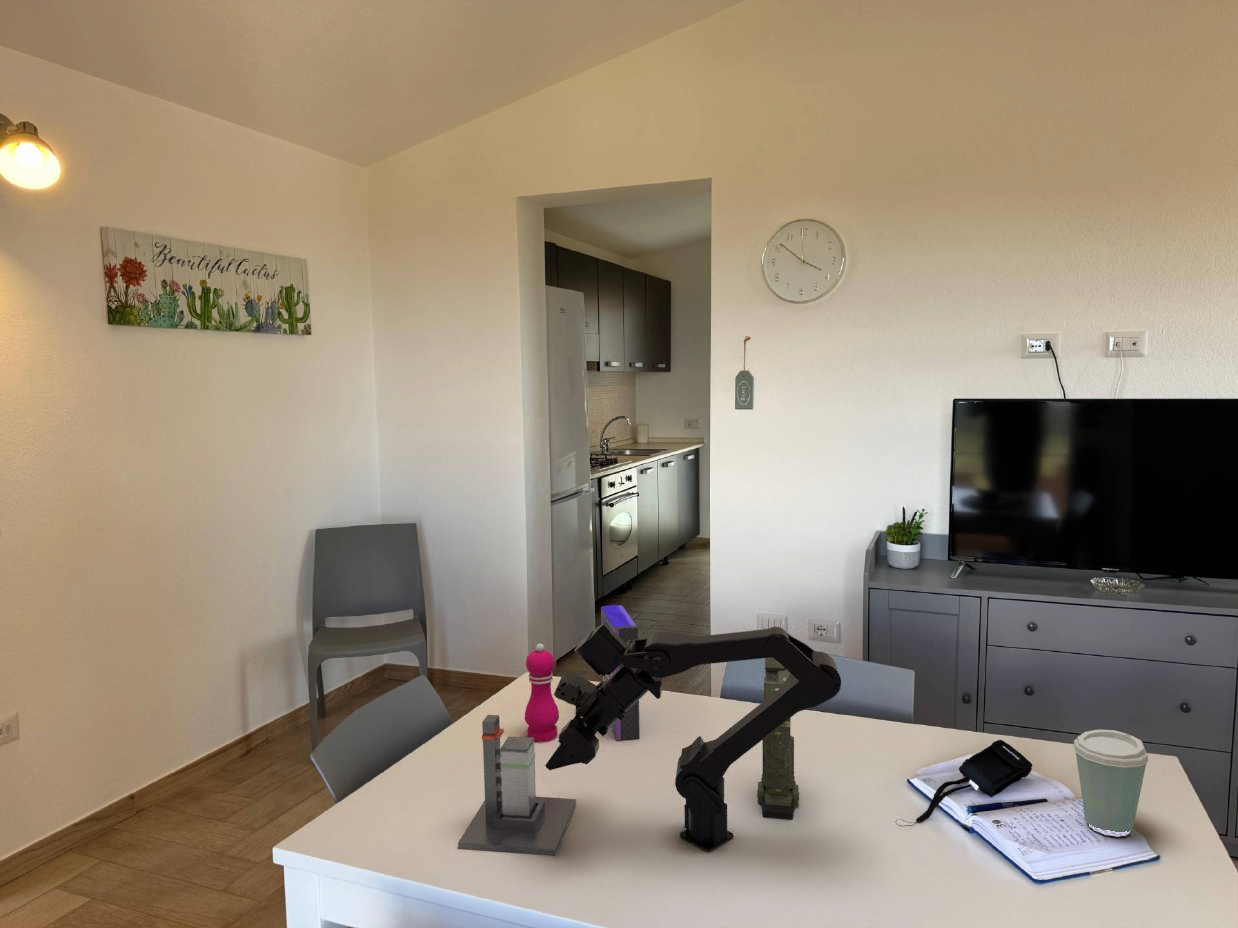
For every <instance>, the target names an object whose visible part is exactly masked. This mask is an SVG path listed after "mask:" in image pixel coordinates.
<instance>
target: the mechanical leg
mask: <svg viewBox="0 0 1238 928" xmlns="http://www.w3.org/2000/svg"><path fill="white" fill-rule="evenodd" d="M764 672H765V677H764V678H763V701H765V700H766V699H767V698H768V697H770V696H771V695H772V694H773V693H775V692H776V691H777V690H779V689H780V688H781V687H782V686H783V684H784V683H785V681H786V679H787V678H788V676H789V675H790V672H789V671H788V670H787V669H786V668H785V667H784V666H782V665H781V664H780V663H779V662H778V661H777V660H775V659H774V658H764ZM791 718H792V717H791ZM791 718H790V719H788V720H787V721H786V722H785V723H783V724H782V725H781V726H779V727H778V728H777V729H776V730H774V731H773V732H772V733H771V734H769V735H768V736H767V737H765V738H764V739H763V740H762V741H761V742H762V746H761V747H762V749H761V750H762V774H761V779H760V781H758V782H757V789H756V790H757V791H756V792H757V793H756V795H757V796H756V797H757V803H758V804H760V807H761V814H762V815H761V816H762V818H764V819H765V818H766V819H775V820H776V819H777V820H779V819H780V820H788V821H792V820H794V817H795V816H794V815H795V810H796V807H798V806H799V801H800V792H799V784H797V783H796V778H795V737H794V736H793V735H791V729H792V727H791Z"/></svg>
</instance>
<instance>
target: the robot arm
mask: <svg viewBox="0 0 1238 928" xmlns="http://www.w3.org/2000/svg"><path fill="white" fill-rule="evenodd" d="M574 652H575V653H576V655H578V656H579V657H580V659H581V660H583V662H585V663H586V664H587V666H589V667H590V668H591V669H592V671H594V672H595V674H597V675H598V676H600V675H601V676H602V677H603V676H605V675H606V674H607V675H610V674H611V673H612V672H613V671H614V670H615V669H616V668H617V667H618V666H619V665H620V664H621V663H622V664H623V666H622V667H621V668H620V669H619V670H618V671H617V672H616V673H615V674H613V675H612V676H611V677H610V678H609V679H608V680H607V681H605V680H604V681H603V680H601V681H600V682H598V684H595V683H593V682H592V681H590V680H588V679H587V678H585V677H583V676H581V675H579V674H577V673H575V672H573V671H572V670H565V671H564V672H563V674H562V676H561V677H560V680H559V681H558V684H557V686H556V688H555V690H554V693H553V696H554V697H555V698H557V699H558V700H560V701H563V702H565V703H567V704H569V705H573V706H575V715H574V716H573V718H571V719H570V720H569V721H568V722H567V723H566V724H565V725H564V726H563V728H561V730H560V732H559V734H558V743H559V745H558V746H557V748H556V749H555V751H554V752H553V753H552V755H551V756H550V758H549V759H548V760H547V762H546V763H545V765H544V766H545V768H546V769H547V770H548V771H553V770H557V769H559V768H560V769H561V768H564V767H568V766H572V765H577V764H584V765H588V764H589V763H591V761H592V760H594V758H596V757H597V756H596V755H597V753H598V751H599V749H600V739H599V738H598V737H597V736H596V734H597V733H598V734H599V735H600V736H601V737H605V735H607V734H608V733H609V732H608V731H609V730H610V728H611V725H613V724H614V723H615V722H616V721H617V720H618V719H619V720H622V719H623V718H624V717H625V715H626V712H627V710H629V709H630V708H631V707H632V706H633V705H634V704H635V703H636V702H637V701H638V700H639V701H640V700H641V698H643V697H644V696H645V695H646V694H647V693H648V692H650V693H651V695H653V697H655V699H657V700H659V699H661V697H662V692H663V681H664V678H667V677H671V676H674V675H679V674H681V673H683V672H686V671H689V670H690V669H693V668H695V667H699V666H701V665H711V664H720V663H731V662H740V661H741V662H742V661H750V660H751V661H752V660H759V659H760V660H761V659H765V658H774V659H775V660H777V661H778V662H779V663H780V664H781V665H782V666H784V667H785V668H786V669H787V670H788V671H789V672H790V675H789V676H788V678H787V679H786V681H785V683H784V684H783V686H782V687H781V688H780V689H779V690H777V691H776V692H775V693H773V694H772V695H771V696H770V697H768V698H767V699H766V700H765V701H764V700H763V701H762V702H760V703H759V704H758V705H756V707H755V708H753V709H752V710H750V712H748V713H747V714H746V715H745V716H743V717H742V718H741V719H740V720H738V721H737V722H735V723H734V724H733V725H732V726H731V727H729V728H727V730H726V731H724V732H723V733H722V734H721V735H720V736H717V738H715V739H713V740H709V741H708V740H707V741H704V739H703V737H702V736H701V735H698V737H696V739H695V740H693V742H692V743H691V744H690V745H688V746H686V747H683V748H681V754H680V756H679V758H678V759H677V760H678V761H677V766H676V773H675V782H674V786H675V789H676V792H677V793H678V794H679V795H680V797H682V798H683V799H685V804H684V806H683V808H684V830H683V831H681V832H679V838H681V839H683V840H685V841H686V842H688V843H691V844H692V845H694V846H696V847H698V848H699V849H702V850H704V851H706V852H712V851H714V849H717V848H718V847H719V846H722V845H723V844H726V842H728V841H730V840H732V839H733V838H734V837H735V836H734V832H731V831H729V830H728V803H726V802H725V777H724V776H725V773H726V772H727V771H728V769H729V767H730V766H731V765H732V764H734V763H735V762H736V761H737V760H739V759H740V758H741V757H742V756H744V755H745V754H747V753H748V752H749V751H750V750H751V749H753V748H754V747H756V745H758V744H759V743H760V742H762V740H763V739H764V738H765V737H767V736H768V735H769V734H771V733H772V732H773V731H774V730H776V729H777V728H778V727H779V726H781V725H782V724H783V723H785V722H786V721H787V720H788V719H790V718H792V717H793V716H795V715H796V714H797V713H800V712H803V711H805V710H809V709H814V708H816V707H818V706H821V705H823V704H825V703H826V702H828V701H830V700H832V699H833V698H835V697H836V696H837V695H838V694H839V693H840V691H841V687H842V679H841V674H840V672H839V670H838V669H839V668H838V667H837V664H836V661H835V660H834V658H833V657H832V656H831V655H829V654H828V653H826V652H824V651H816V650H814V649H813V648H812V647H811V646H810V645H808V644H806V643H805V642H803V641H801V640H799V639H798V638H796V637H795V636H793V635H791V634H789V633H788V632H787V631H786V630H785V629H784V628H782V627H780V626H772V627H768V628H766V629H765V628H764V629H756V630H755V629H754V630H746V631H737V632H736V631H735V632H728V633H727V632H725V633H719V634H716V633H715V634H708V635H701V636H700V635H689V634H686V633H682V632H671V631H668V632H667V631H658V632H654V633H652V634H650V636H649V637H647V638H638V639H636V640H628V642H627V644H626V643H625V642H624V641H623V640H622V639H621V638H620V637H619V636H618V635H617V634H616V633H615V632H614V631H613V630H612V628H611V627H610V626H609V625H608V624H607V623H606V622H603V623H602V622H601V624H600V625H599V626H597V627H596V628H595V629H593V630H590V632H589V633H588V634H586V635H585V637H583V638H582V640H581V641H580V642H579V643H578V645H577V646H576V647H575V648H574Z"/></svg>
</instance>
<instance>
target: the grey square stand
mask: <svg viewBox="0 0 1238 928" xmlns="http://www.w3.org/2000/svg"><path fill="white" fill-rule="evenodd" d="M481 725H482V726H481V727H482V728H481V729H482V735H481V740H482V748H483V749H482V752H483V753H482V754H483V755H482V756H483V778H484V779H483V780H484V781H483V784H484V785H483V786H484V801H483V802H482V804H481V805H480V807H479V808H478V810H477V811H476V813H475V815H474V816H473V818H472V819H471V822H470V823H469V824H468V826H467V828H466V830H464V833H463V834H462V835H461V837H460V839H459V840H458V842H457V845H458V849H461V850H463V849H464V850H476V851H477V850H478V851H487V852H488V851H489V852H490V851H491V852H501V853H502V852H503V853H504V852H505V853H515V854H516V853H517V854H530V855H542V856H556V855H557V853H558V851H559V848H560V845H561V843H562V840H563V838H564V835H565V833H566V832H567V831H566V830H567V829H568V826H569V823H570V821H571V819H572V816H573V813H574V811H575V808H576V807H577V798H564V797H563V798H562V797H549V796H548V797H547V796H536V809H535V811H534V813H533V815H532V817H531V819H526V818H511V817H503V806H502V776H501V737H502V735H504V733H505V729H504V728H501V727H500V715H499V714H487V716H485V718H484V719H483V720H482V723H481Z"/></svg>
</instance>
